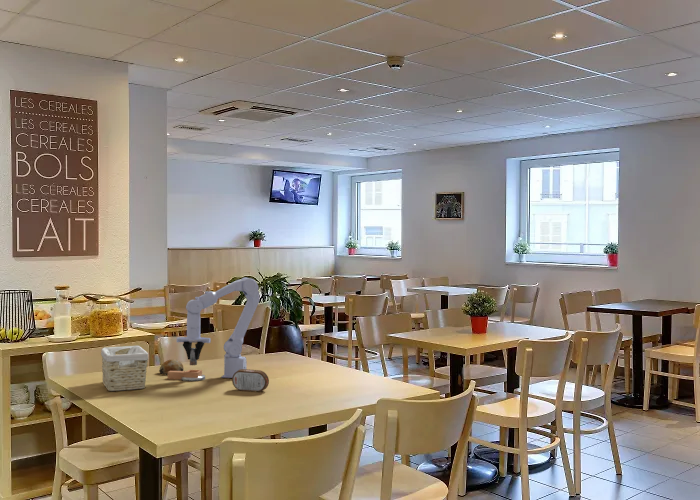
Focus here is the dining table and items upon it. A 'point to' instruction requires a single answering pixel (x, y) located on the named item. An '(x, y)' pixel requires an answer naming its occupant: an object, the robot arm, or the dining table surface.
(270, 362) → the dining table surface
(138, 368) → the storage basket
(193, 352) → the pin
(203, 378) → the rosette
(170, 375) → the bracket
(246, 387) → the tin
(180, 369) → the bread roll
